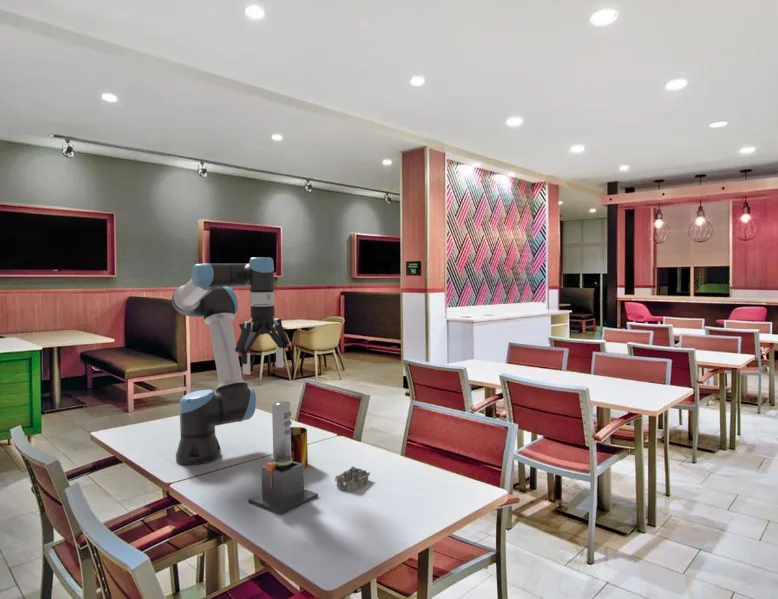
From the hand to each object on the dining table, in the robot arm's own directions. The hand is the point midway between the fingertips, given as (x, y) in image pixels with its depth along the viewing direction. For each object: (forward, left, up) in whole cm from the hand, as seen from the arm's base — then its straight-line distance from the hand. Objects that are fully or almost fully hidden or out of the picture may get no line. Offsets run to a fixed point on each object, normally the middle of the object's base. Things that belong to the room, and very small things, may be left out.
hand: (263, 370), depth 170 cm
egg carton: (+29, +9, -35) cm, 46 cm away
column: (+20, -11, -26) cm, 35 cm away
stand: (+20, -11, -34) cm, 41 cm away
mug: (+4, +9, -34) cm, 36 cm away
